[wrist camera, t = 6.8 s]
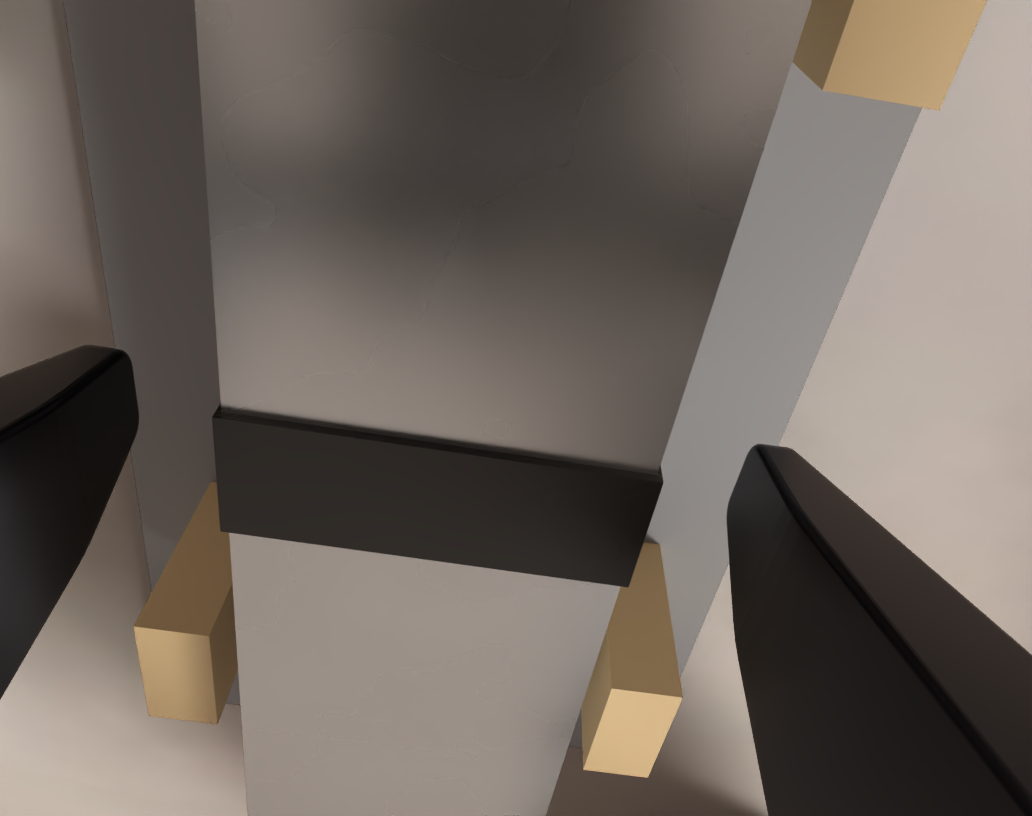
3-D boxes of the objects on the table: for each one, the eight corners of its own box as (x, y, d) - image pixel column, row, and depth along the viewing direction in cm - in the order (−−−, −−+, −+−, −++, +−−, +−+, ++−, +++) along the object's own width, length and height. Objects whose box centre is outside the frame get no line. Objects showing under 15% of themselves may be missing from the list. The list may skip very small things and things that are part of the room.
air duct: (534, 654, 15) (528, 885, 12) (313, 625, 15) (243, 851, 12) (792, -351, 7) (998, -515, 4) (331, -445, 7) (130, -703, 4)
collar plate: (642, 714, 18) (662, 908, 15) (185, 655, 18) (100, 843, 14) (1223, -739, 7) (1855, -1283, 3) (-24, -1031, 6) (-673, -2009, 3)
